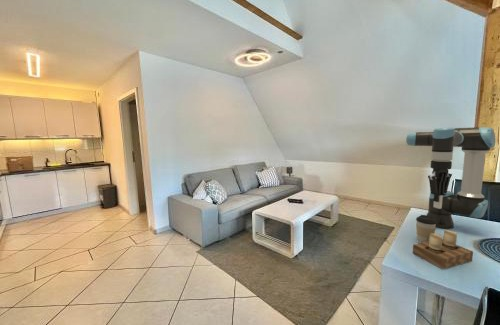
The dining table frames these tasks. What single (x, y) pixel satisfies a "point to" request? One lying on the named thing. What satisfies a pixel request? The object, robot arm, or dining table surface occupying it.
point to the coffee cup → (425, 228)
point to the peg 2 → (449, 239)
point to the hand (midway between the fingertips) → (437, 207)
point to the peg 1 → (435, 243)
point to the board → (443, 255)
